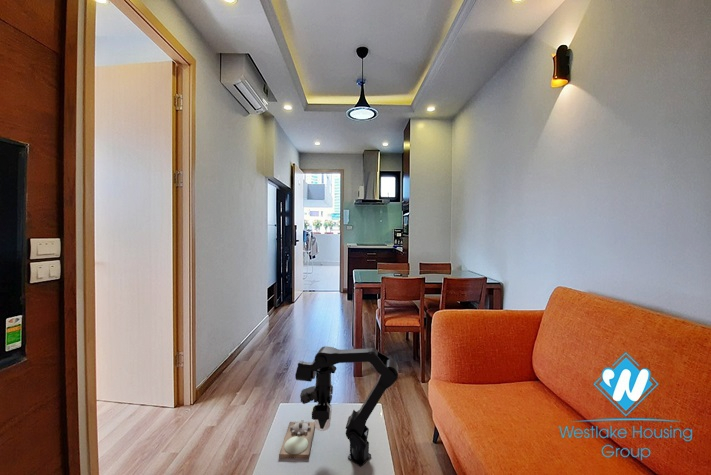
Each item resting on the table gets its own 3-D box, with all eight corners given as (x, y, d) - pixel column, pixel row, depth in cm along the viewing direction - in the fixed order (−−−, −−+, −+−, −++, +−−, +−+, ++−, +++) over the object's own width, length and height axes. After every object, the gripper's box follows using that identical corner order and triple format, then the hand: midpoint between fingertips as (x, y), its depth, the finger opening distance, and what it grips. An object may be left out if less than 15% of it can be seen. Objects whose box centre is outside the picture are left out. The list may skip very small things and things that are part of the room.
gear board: (315, 425, 123) (315, 417, 123) (308, 458, 105) (308, 448, 105) (289, 425, 123) (289, 416, 123) (278, 458, 105) (279, 448, 105)
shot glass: (333, 420, 112) (333, 402, 111) (329, 432, 105) (330, 414, 105) (315, 419, 112) (316, 401, 112) (311, 431, 105) (311, 412, 105)
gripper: (306, 369, 117) (305, 407, 118) (297, 395, 99) (296, 440, 99) (333, 370, 118) (332, 407, 118) (329, 396, 99) (328, 440, 99)
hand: (322, 422), depth 109 cm, fingers closed on shot glass, 6 cm apart
